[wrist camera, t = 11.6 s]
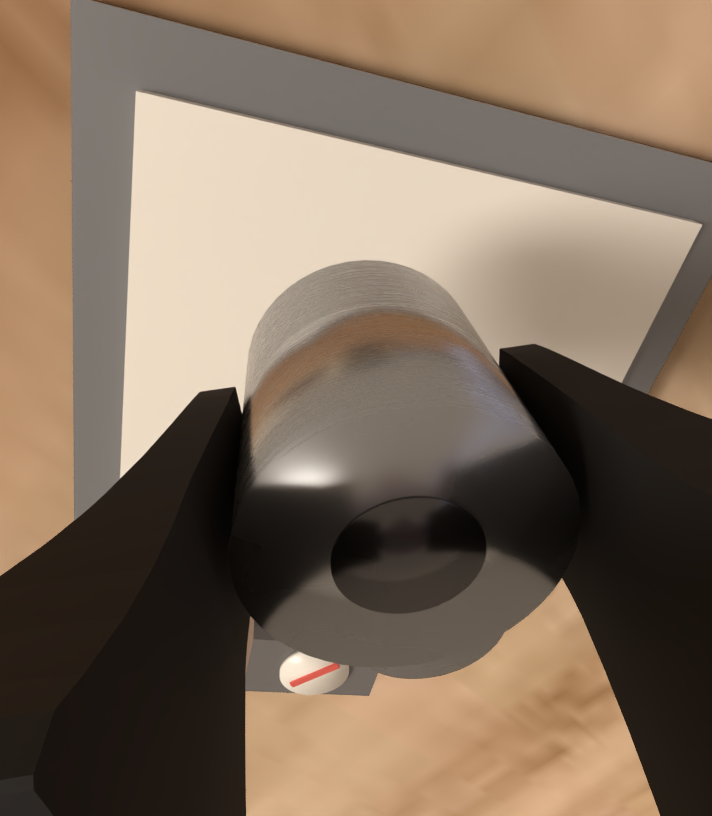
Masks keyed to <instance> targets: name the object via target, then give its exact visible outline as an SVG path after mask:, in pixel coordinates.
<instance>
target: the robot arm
mask: <svg viewBox="0 0 712 816" xmlns="http://www.w3.org/2000/svg"><path fill="white" fill-rule="evenodd" d="M499 367H500V368H501V370H502V371H503V373H504V374H505V376H506V377H507V379H508V380H509V382H510V383H511V385H512V386H513V388H514V389H515V391H516V392H517V394H518V395H519V397H520V398H521V400H522V401H523V403H524V404H525V406H526V407H527V409H528V410H529V412H530V413H531V415H532V416H533V418H534V419H535V421H536V422H537V424H538V425H539V427H540V428H541V430H542V431H543V433H544V434H545V436H546V437H547V439H548V440H549V442H550V443H551V445H552V446H553V448H554V450H555V451H556V453H557V454H558V456H559V457H560V459H561V460H562V462H563V463H564V465H565V467H566V468H567V470H568V471H569V473H570V475H571V476H572V479H573V481H574V484H575V487H576V489H577V492H578V497H579V503H580V508H581V527H580V532H579V538H578V543H577V546H576V549H575V552H574V555H573V558H572V560H571V562H570V564H569V566H568V568H567V570H566V572H565V573H564V575H563V577H562V578H563V580H564V582H565V584H566V586H567V587H568V589H569V591H570V593H571V595H572V597H573V599H574V601H575V603H576V605H577V607H578V609H579V611H580V613H581V615H582V617H583V619H584V622H585V624H586V626H587V629H588V631H589V634H590V636H591V638H592V641H593V643H594V645H595V648H596V650H597V653H598V655H599V657H600V660H601V662H602V664H603V667H604V669H605V671H606V674H607V677H608V679H609V682H610V684H611V687H612V689H613V692H614V694H615V697H616V699H617V702H618V704H619V707H620V709H621V712H622V714H623V717H624V719H625V722H626V724H627V727H628V729H629V732H630V735H631V737H632V740H633V743H634V745H635V748H636V751H637V753H638V756H639V759H640V761H641V764H642V767H643V770H644V772H645V775H646V778H647V780H648V783H649V786H650V788H651V791H652V794H653V796H654V799H655V802H656V805H657V807H658V810H659V813H660V816H712V419H710V418H707V417H704V416H701V415H698V414H696V413H693V412H690V411H688V410H685V409H683V408H680V407H678V406H675V405H673V404H670V403H668V402H665V401H663V400H660V399H658V398H655V397H653V396H650V395H648V394H646V393H643V392H641V391H639V390H636V389H634V388H632V387H630V386H627V385H625V384H623V383H621V382H618V381H616V380H614V379H612V378H610V377H608V376H606V375H603V374H601V373H599V372H597V371H595V370H593V369H591V368H589V367H586V366H584V365H582V364H580V363H578V362H576V361H574V360H572V359H570V358H568V357H565V356H563V355H561V354H559V353H557V352H554V351H552V350H550V349H547V348H545V347H542V346H539V345H537V344H529V345H522V346H515V347H508V348H501V349H499ZM241 423H242V411H241V407H240V403H239V399H238V395H237V391H236V387H229V388H222V389H215V390H208V391H201V392H199V393H198V394H197V395H196V396H195V397H194V398H193V399H192V401H191V402H190V403H189V404H188V405H187V406H186V407H185V409H184V410H183V411H182V412H181V413H180V414H179V416H178V417H177V418H176V419H175V420H174V421H173V423H172V424H171V425H170V426H169V427H168V428H167V429H166V431H165V432H164V433H163V434H162V435H161V436H160V437H159V438H158V440H157V441H156V442H155V443H154V444H153V445H152V446H151V447H150V449H149V450H148V451H147V452H146V453H145V454H144V455H143V456H142V457H141V458H140V459H139V460H138V461H137V462H136V463H135V464H134V465H133V466H132V467H131V468H130V469H129V470H128V471H127V472H126V473H125V474H124V475H123V476H122V477H121V478H120V479H119V480H118V481H117V482H116V483H115V484H114V485H113V486H112V487H111V488H110V489H109V490H108V491H107V492H106V493H105V494H104V495H103V496H102V497H101V498H100V499H99V500H98V501H96V502H95V503H94V504H93V505H92V506H91V507H90V508H89V509H87V510H86V511H85V512H84V513H83V514H82V515H81V516H79V517H78V518H77V519H76V520H74V521H73V522H72V523H71V524H70V525H68V526H67V527H66V528H65V529H64V530H62V531H61V532H60V533H59V534H57V535H56V536H55V537H54V538H52V539H51V540H50V541H49V542H47V543H46V544H45V545H43V546H42V547H41V548H39V549H38V550H36V551H35V552H34V553H32V554H31V555H29V556H28V557H27V558H25V559H24V560H22V561H21V562H19V563H18V564H17V565H15V566H14V567H12V568H11V569H10V570H8V571H7V572H5V573H4V574H3V575H1V576H0V816H246V788H245V671H246V655H247V641H248V632H249V623H250V615H249V613H248V612H247V610H246V609H245V607H244V606H243V605H242V603H241V601H240V599H239V597H238V595H237V593H236V590H235V588H234V585H233V581H232V577H231V573H230V564H229V547H230V537H231V526H232V516H233V506H234V495H235V485H236V475H237V464H238V454H239V444H240V433H241Z"/></svg>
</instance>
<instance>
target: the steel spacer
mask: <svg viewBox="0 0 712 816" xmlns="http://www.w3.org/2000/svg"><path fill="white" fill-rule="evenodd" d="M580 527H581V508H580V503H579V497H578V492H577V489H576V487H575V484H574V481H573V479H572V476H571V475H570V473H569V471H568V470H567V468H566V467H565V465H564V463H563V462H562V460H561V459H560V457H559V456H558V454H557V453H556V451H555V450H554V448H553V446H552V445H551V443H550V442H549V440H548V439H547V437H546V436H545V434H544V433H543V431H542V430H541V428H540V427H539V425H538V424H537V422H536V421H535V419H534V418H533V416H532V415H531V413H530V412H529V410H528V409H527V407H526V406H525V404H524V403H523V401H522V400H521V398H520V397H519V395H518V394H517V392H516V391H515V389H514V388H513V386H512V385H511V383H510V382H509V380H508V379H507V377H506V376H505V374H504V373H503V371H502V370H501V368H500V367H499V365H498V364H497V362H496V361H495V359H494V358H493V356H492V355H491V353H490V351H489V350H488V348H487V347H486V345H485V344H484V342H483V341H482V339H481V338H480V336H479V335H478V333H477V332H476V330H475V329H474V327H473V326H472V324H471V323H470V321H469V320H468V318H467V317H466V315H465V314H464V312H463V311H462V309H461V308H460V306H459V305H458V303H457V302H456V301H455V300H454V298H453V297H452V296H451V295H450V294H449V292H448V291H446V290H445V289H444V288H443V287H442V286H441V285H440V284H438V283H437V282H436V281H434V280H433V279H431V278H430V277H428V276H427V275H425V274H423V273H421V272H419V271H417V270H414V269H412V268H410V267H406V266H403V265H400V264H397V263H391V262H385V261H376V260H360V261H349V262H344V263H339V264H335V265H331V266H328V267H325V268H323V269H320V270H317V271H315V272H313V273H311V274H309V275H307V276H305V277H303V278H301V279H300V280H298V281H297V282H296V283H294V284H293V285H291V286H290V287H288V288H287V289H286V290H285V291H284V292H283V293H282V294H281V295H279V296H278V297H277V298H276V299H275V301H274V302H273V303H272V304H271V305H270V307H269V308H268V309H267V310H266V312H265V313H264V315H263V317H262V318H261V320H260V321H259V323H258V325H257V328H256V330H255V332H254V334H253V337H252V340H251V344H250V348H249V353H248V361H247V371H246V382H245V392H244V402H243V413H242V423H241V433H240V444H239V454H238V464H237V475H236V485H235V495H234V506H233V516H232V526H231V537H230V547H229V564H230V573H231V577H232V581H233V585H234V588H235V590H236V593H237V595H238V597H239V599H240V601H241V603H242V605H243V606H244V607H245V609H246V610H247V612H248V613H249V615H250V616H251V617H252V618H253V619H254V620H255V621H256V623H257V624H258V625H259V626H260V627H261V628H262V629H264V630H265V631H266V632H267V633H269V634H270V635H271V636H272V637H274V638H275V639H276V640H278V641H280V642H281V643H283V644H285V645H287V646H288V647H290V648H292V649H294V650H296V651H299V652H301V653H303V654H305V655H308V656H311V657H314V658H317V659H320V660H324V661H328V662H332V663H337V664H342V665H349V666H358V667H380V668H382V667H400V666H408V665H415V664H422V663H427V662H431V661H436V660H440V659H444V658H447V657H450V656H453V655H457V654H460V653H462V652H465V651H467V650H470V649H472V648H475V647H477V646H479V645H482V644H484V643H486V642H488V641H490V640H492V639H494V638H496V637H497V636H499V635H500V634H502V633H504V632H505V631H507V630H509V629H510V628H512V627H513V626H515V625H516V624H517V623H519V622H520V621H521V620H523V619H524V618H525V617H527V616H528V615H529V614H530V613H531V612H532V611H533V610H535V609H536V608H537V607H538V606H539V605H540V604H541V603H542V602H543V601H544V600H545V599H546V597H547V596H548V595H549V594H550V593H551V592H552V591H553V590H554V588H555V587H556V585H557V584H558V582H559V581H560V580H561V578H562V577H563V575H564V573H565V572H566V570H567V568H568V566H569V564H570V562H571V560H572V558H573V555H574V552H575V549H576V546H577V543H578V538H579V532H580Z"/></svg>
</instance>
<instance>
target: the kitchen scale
mask: <svg viewBox="0 0 712 816" xmlns="http://www.w3.org/2000/svg"><path fill="white" fill-rule="evenodd" d="M71 127H72V267H73V407H74V520H76V519H77V518H78V517H79V516H81V515H82V514H83V513H84V512H85V511H86V510H87V509H89V508H90V507H91V506H92V505H93V504H94V503H95V502H96V501H98V500H99V499H100V498H101V497H102V496H103V495H104V494H105V493H106V492H107V491H108V490H109V489H110V488H111V487H112V486H113V485H114V484H115V483H116V482H117V481H118V480H119V479H120V478H121V477H122V476H123V475H124V474H125V473H126V472H127V471H128V470H129V469H130V468H131V467H132V466H133V465H134V464H135V463H136V462H137V461H138V460H139V459H140V458H141V457H142V456H143V455H144V454H145V453H146V452H147V451H148V450H149V449H150V447H151V446H152V445H153V444H154V443H155V442H156V441H157V440H158V438H159V437H160V436H161V435H162V434H163V433H164V432H165V431H166V429H167V428H168V427H169V426H170V425H171V424H172V423H173V421H174V420H175V419H176V418H177V417H178V416H179V414H180V413H181V412H182V411H183V410H184V409H185V407H186V406H187V405H188V404H189V403H190V402H191V401H192V399H193V398H194V397H195V396H196V395H197V394H198V393H199V392H201V391H208V390H215V389H222V388H229V387H236V391H237V395H238V399H239V403H240V407H241V411H242V413H243V402H244V392H245V382H246V371H247V361H248V353H249V348H250V344H251V340H252V337H253V334H254V332H255V330H256V328H257V325H258V323H259V321H260V320H261V318H262V317H263V315H264V313H265V312H266V310H267V309H268V308H269V307H270V305H271V304H272V303H273V302H274V301H275V299H276V298H277V297H278V296H279V295H281V294H282V293H283V292H284V291H285V290H286V289H287V288H288V287H290V286H291V285H293V284H294V283H296V282H297V281H298V280H300V279H301V278H303V277H305V276H307V275H309V274H311V273H313V272H315V271H317V270H320V269H323V268H325V267H328V266H331V265H335V264H339V263H344V262H349V261H360V260H376V261H385V262H391V263H397V264H400V265H403V266H406V267H410V268H412V269H414V270H417V271H419V272H421V273H423V274H425V275H427V276H428V277H430V278H431V279H433V280H434V281H436V282H437V283H438V284H440V285H441V286H442V287H443V288H444V289H445V290H446V291H448V292H449V294H450V295H451V296H452V297H453V298H454V300H455V301H456V302H457V303H458V305H459V306H460V308H461V309H462V311H463V312H464V314H465V315H466V317H467V318H468V320H469V321H470V323H471V324H472V326H473V327H474V329H475V330H476V332H477V333H478V335H479V336H480V338H481V339H482V341H483V342H484V344H485V345H486V347H487V348H488V350H489V351H490V353H491V355H492V356H493V358H494V359H495V361H496V362H497V364H498V365H499V349H501V348H508V347H515V346H522V345H529V344H537V345H539V346H542V347H545V348H547V349H550V350H552V351H554V352H557V353H559V354H561V355H563V356H565V357H568V358H570V359H572V360H574V361H576V362H578V363H580V364H582V365H584V366H586V367H589V368H591V369H593V370H595V371H597V372H599V373H601V374H603V375H606V376H608V377H610V378H612V379H614V380H616V381H618V382H621V383H623V384H625V385H627V386H630V387H632V388H634V389H636V390H639V391H641V392H643V393H646V394H648V393H649V391H650V389H651V387H652V385H653V383H654V381H655V380H656V378H657V376H658V374H659V372H660V370H661V369H662V367H663V365H664V363H665V361H666V359H667V358H668V356H669V354H670V352H671V350H672V348H673V346H674V345H675V343H676V341H677V339H678V337H679V335H680V334H681V332H682V330H683V328H684V326H685V324H686V322H687V321H688V319H689V317H690V315H691V313H692V311H693V310H694V308H695V306H696V304H697V302H698V300H699V299H700V297H701V295H702V293H703V291H704V289H705V287H706V286H707V284H708V282H709V280H710V278H711V276H712V162H709V161H705V160H701V159H698V158H694V157H690V156H686V155H682V154H679V153H675V152H671V151H667V150H663V149H660V148H656V147H652V146H648V145H644V144H640V143H637V142H633V141H629V140H625V139H621V138H618V137H614V136H610V135H606V134H602V133H598V132H595V131H591V130H587V129H583V128H579V127H576V126H572V125H568V124H564V123H560V122H556V121H553V120H549V119H545V118H541V117H537V116H534V115H530V114H526V113H522V112H518V111H514V110H511V109H507V108H503V107H499V106H495V105H492V104H488V103H484V102H480V101H476V100H472V99H469V98H465V97H461V96H457V95H453V94H450V93H446V92H442V91H438V90H434V89H430V88H427V87H423V86H419V85H415V84H411V83H408V82H404V81H400V80H396V79H392V78H389V77H385V76H381V75H377V74H373V73H369V72H366V71H362V70H358V69H354V68H350V67H347V66H343V65H339V64H335V63H331V62H327V61H324V60H320V59H316V58H312V57H308V56H305V55H301V54H297V53H293V52H289V51H285V50H282V49H278V48H274V47H270V46H266V45H263V44H259V43H255V42H251V41H247V40H243V39H240V38H236V37H232V36H228V35H224V34H221V33H217V32H213V31H209V30H205V29H201V28H198V27H194V26H190V25H186V24H182V23H179V22H175V21H171V20H167V19H163V18H159V17H156V16H152V15H148V14H144V13H140V12H137V11H133V10H129V9H125V8H121V7H117V6H114V5H110V4H106V3H102V2H98V1H95V0H71ZM377 674H378V672H376V671H374V670H372V669H370V668H368V667H358V666H349V665H342V664H337V663H332V662H328V661H324V660H320V659H317V658H314V657H311V656H308V655H305V654H303V653H301V652H299V651H296V650H294V649H292V648H290V647H288V646H287V645H285V644H283V643H281V642H280V641H278V640H276V639H275V638H274V637H272V636H271V635H270V634H269V633H267V632H266V631H265V630H264V629H262V628H261V627H260V626H259V625H258V624H257V623H256V621H255V620H254V619H253V618H252V617H251V616H250V623H249V632H248V641H247V655H246V671H245V691H261V692H286V693H298V694H303V695H318V694H336V695H361V696H369V695H370V692H371V689H372V687H373V684H374V682H375V679H376V676H377Z"/></svg>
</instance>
